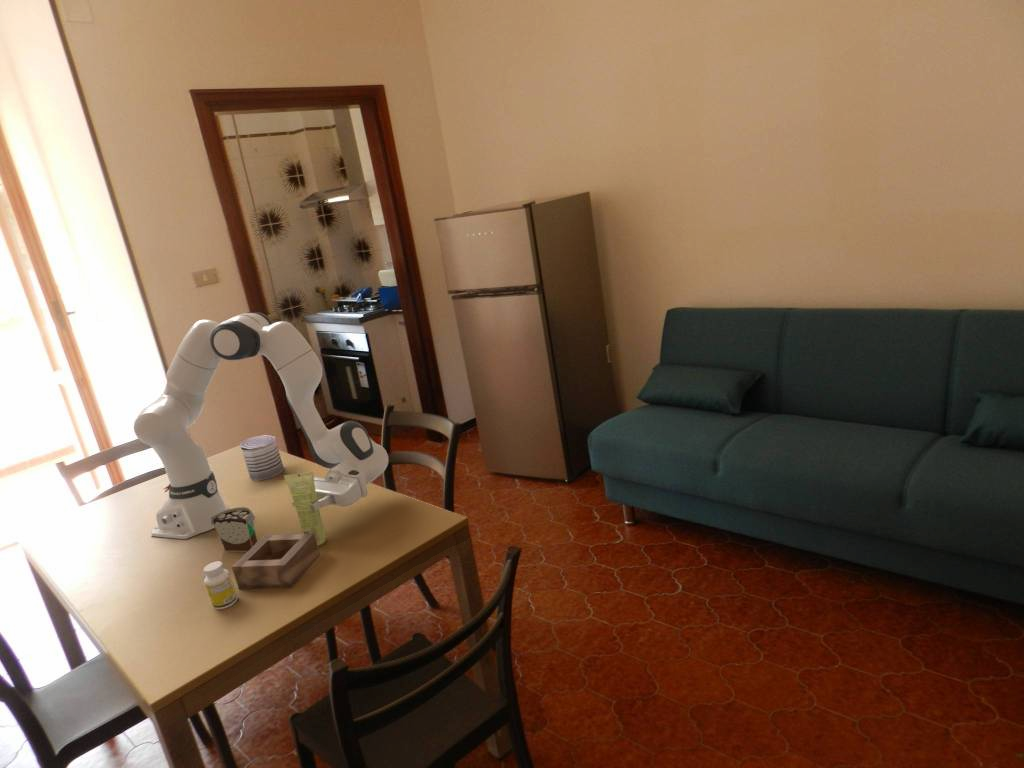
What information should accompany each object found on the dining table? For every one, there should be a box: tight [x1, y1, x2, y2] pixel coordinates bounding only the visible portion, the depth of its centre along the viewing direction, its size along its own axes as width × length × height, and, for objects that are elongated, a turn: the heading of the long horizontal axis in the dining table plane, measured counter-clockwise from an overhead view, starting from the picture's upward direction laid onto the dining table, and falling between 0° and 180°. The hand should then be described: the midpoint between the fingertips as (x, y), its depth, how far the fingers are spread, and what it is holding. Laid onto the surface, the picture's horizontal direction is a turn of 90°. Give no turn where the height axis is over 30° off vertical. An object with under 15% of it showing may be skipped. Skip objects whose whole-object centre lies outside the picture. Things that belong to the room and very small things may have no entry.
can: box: [239, 434, 285, 482], centre depth 234 cm, size 11×11×12 cm
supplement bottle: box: [203, 560, 239, 611], centre depth 159 cm, size 5×5×10 cm
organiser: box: [231, 533, 321, 590], centre depth 169 cm, size 14×14×6 cm
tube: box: [283, 471, 327, 547], centre depth 178 cm, size 6×5×20 cm
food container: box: [211, 506, 258, 553], centre depth 185 cm, size 12×6×10 cm, turn 71°
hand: (303, 505), depth 177 cm, fingers closed on tube, 5 cm apart
